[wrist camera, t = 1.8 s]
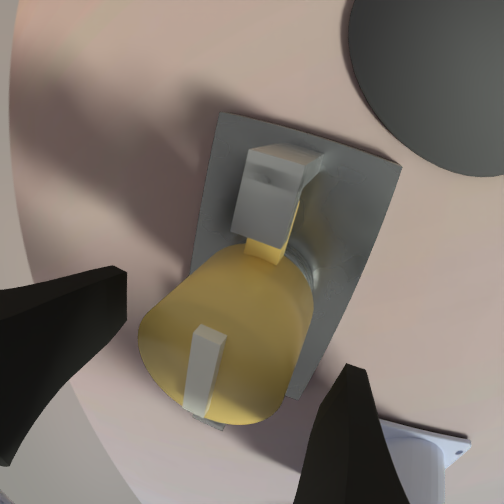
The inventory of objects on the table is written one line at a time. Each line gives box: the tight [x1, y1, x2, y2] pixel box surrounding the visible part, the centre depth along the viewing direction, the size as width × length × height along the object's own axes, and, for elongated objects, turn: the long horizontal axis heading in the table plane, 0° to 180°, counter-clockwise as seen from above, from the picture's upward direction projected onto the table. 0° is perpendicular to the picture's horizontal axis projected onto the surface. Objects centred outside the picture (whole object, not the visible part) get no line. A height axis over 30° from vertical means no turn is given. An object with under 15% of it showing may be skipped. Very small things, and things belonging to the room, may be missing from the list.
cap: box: [138, 201, 314, 425], centre depth 10 cm, size 8×4×4 cm, turn 167°
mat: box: [349, 0, 504, 177], centre depth 8 cm, size 9×9×1 cm
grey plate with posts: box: [189, 112, 402, 431], centre depth 12 cm, size 12×7×5 cm, turn 167°
